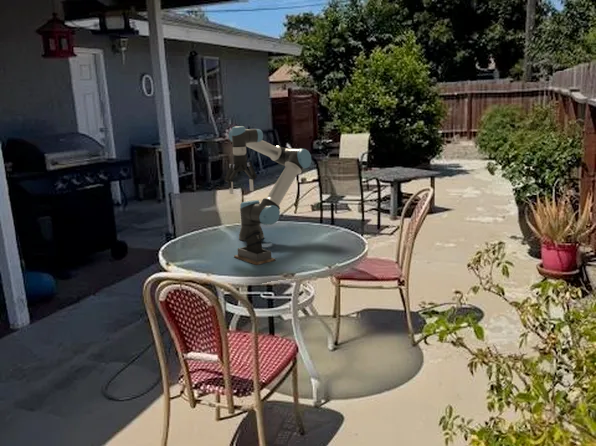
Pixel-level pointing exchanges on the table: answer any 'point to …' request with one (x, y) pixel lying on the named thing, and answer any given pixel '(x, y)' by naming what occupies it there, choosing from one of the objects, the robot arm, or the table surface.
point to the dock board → (254, 261)
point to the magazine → (254, 242)
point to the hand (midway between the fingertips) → (241, 192)
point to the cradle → (254, 254)
